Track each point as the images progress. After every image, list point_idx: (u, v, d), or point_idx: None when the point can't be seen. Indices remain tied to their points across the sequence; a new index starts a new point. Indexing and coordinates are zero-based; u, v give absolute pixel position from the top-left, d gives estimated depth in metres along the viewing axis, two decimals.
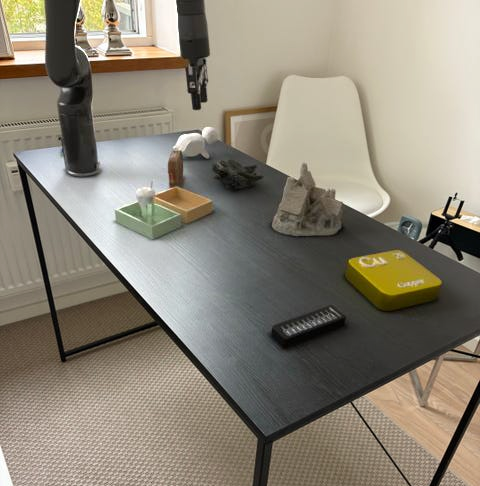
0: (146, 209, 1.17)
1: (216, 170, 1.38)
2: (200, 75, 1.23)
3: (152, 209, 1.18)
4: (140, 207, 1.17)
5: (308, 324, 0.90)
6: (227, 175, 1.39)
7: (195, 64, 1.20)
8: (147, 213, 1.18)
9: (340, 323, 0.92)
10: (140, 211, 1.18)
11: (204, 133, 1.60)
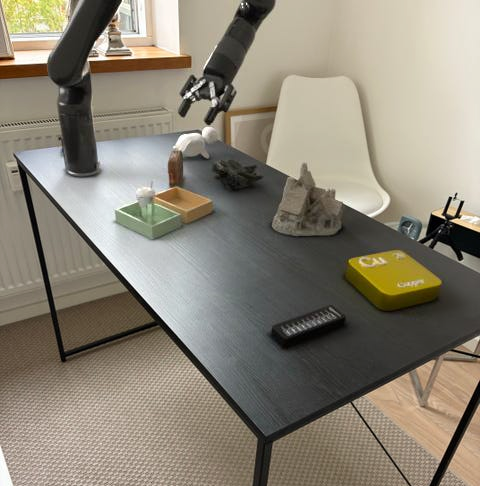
0: (146, 209, 1.17)
1: (216, 170, 1.38)
2: (220, 98, 1.19)
3: (152, 209, 1.18)
4: (140, 207, 1.17)
5: (308, 324, 0.90)
6: (227, 175, 1.39)
7: None
8: (147, 213, 1.18)
9: (340, 323, 0.92)
10: (140, 211, 1.18)
11: (204, 133, 1.60)
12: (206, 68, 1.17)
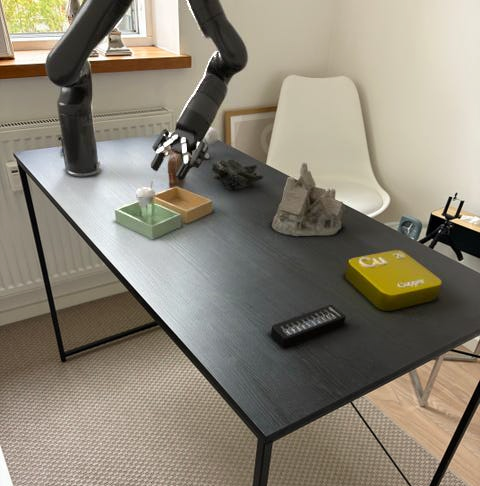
0: (146, 209, 1.17)
1: (216, 170, 1.38)
2: (192, 153, 1.20)
3: (152, 209, 1.18)
4: (140, 207, 1.17)
5: (308, 324, 0.90)
6: (227, 175, 1.39)
7: None
8: (147, 213, 1.18)
9: (340, 323, 0.92)
10: (140, 211, 1.18)
11: None
12: (178, 124, 1.18)
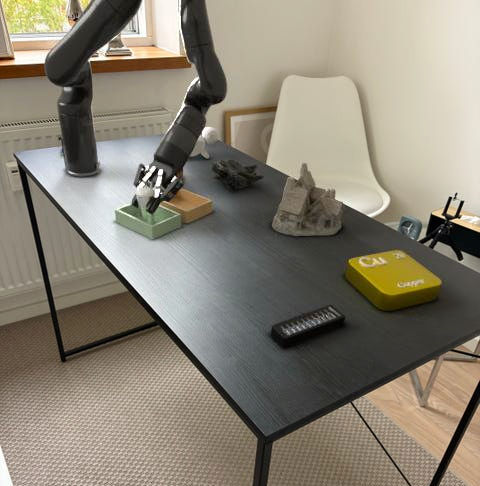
0: None
1: (216, 170, 1.38)
2: None
3: None
4: (140, 207, 1.17)
5: (308, 323, 0.90)
6: (227, 175, 1.39)
7: None
8: (147, 213, 1.18)
9: (340, 323, 0.92)
10: (140, 211, 1.18)
11: (204, 133, 1.60)
12: (155, 156, 1.16)
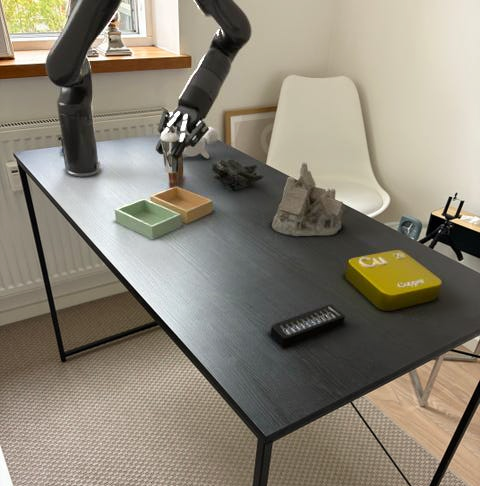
0: None
1: (216, 170, 1.38)
2: None
3: None
4: (165, 152, 1.16)
5: (308, 323, 0.90)
6: (227, 175, 1.39)
7: (202, 121, 1.16)
8: (171, 159, 1.17)
9: (339, 323, 0.92)
10: (164, 157, 1.17)
11: None
12: (180, 100, 1.15)
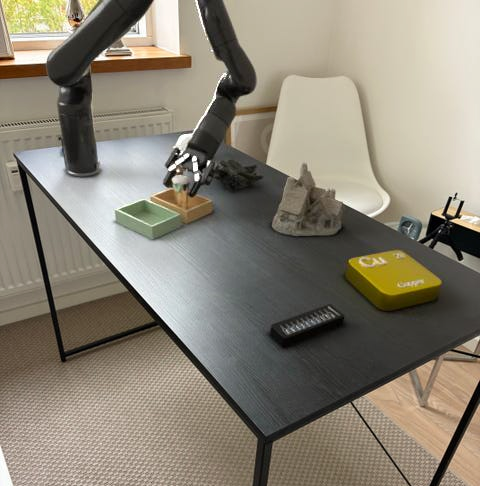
0: (181, 195, 1.25)
1: None
2: (202, 171, 1.26)
3: (186, 195, 1.26)
4: (176, 193, 1.25)
5: (307, 323, 0.90)
6: (227, 175, 1.39)
7: None
8: (182, 199, 1.26)
9: (339, 322, 0.93)
10: (175, 197, 1.26)
11: None
12: (189, 143, 1.24)
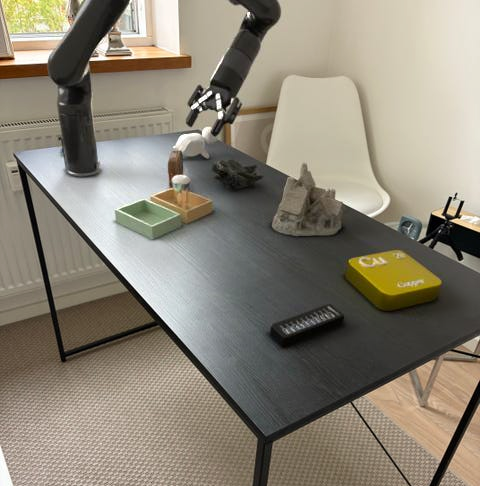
0: (181, 195, 1.25)
1: (216, 170, 1.38)
2: (226, 109, 1.24)
3: (186, 195, 1.26)
4: (176, 193, 1.25)
5: (307, 323, 0.90)
6: (227, 175, 1.39)
7: None
8: (182, 199, 1.26)
9: (339, 322, 0.93)
10: (175, 197, 1.26)
11: (204, 133, 1.60)
12: (213, 80, 1.22)
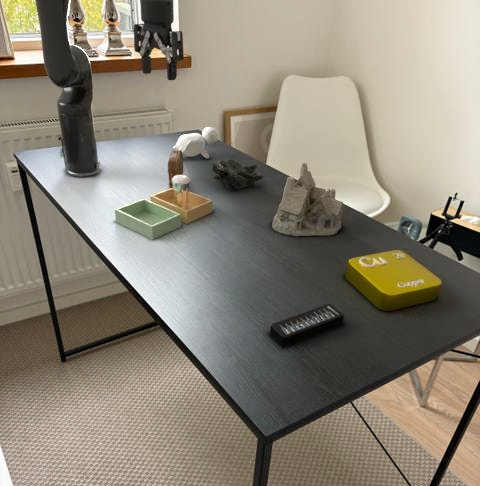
0: (181, 195, 1.25)
1: (216, 170, 1.38)
2: (171, 41, 1.14)
3: (186, 195, 1.26)
4: (176, 193, 1.25)
5: (307, 322, 0.90)
6: (227, 175, 1.39)
7: (171, 29, 1.12)
8: (182, 199, 1.26)
9: (338, 322, 0.93)
10: (175, 197, 1.26)
11: (204, 133, 1.60)
12: (143, 21, 1.11)
